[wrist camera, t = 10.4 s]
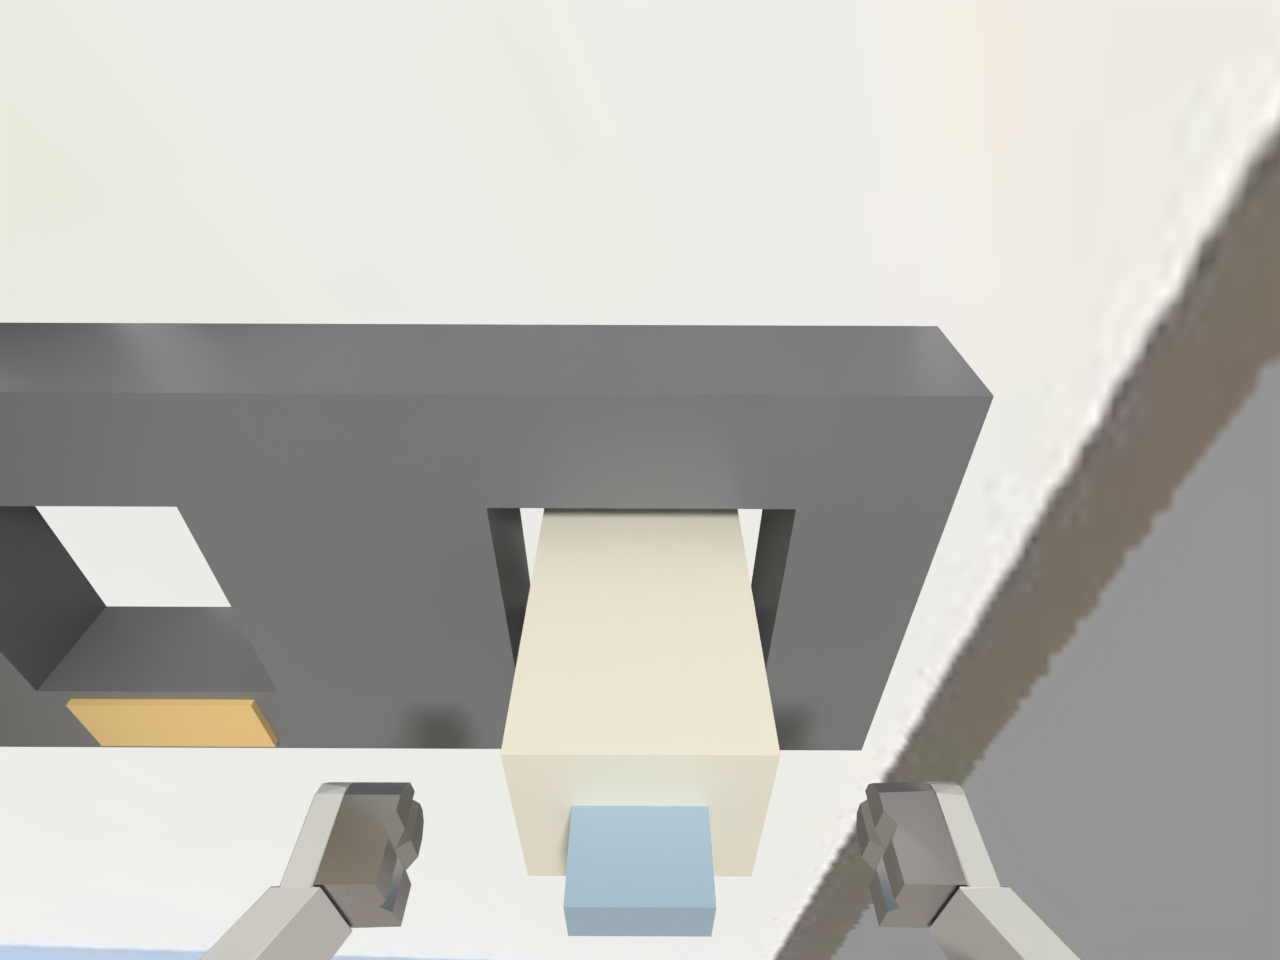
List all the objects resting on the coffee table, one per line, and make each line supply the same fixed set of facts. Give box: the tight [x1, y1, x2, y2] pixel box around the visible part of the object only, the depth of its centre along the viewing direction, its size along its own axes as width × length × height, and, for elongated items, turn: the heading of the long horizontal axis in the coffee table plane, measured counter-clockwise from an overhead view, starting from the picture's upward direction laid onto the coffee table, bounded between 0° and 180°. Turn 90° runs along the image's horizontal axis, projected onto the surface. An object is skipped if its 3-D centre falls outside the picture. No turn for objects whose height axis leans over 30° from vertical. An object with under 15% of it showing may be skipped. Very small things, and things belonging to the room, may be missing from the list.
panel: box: [0, 323, 994, 751], centre depth 17 cm, size 12×26×3 cm, turn 90°
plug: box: [500, 508, 781, 937], centre depth 15 cm, size 4×4×10 cm
